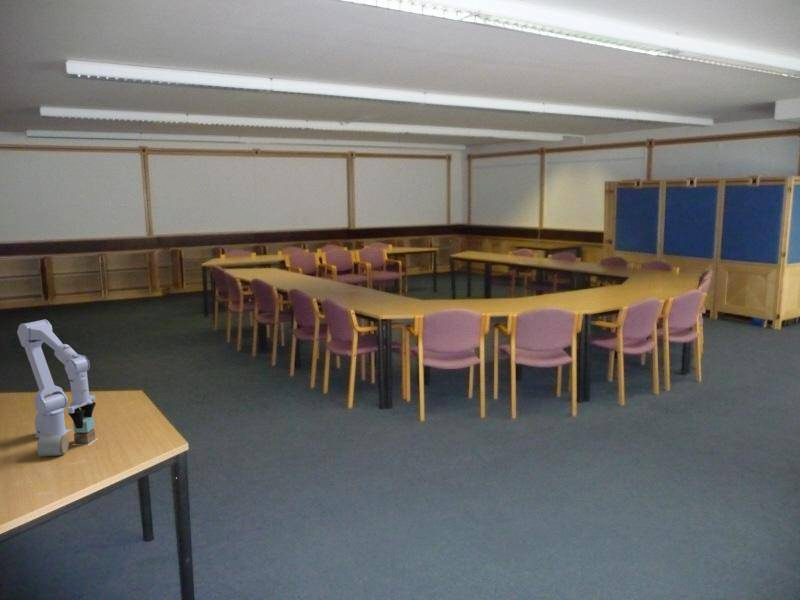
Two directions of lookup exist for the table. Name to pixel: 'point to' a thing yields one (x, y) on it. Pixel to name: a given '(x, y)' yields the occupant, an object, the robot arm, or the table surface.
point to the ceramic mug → (52, 445)
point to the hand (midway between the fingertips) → (83, 425)
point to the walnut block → (84, 437)
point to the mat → (86, 444)
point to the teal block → (85, 425)
